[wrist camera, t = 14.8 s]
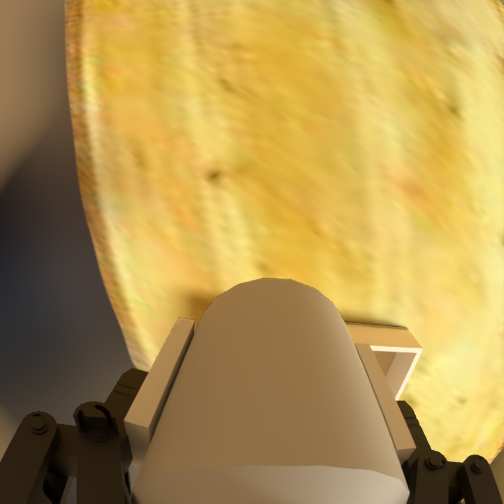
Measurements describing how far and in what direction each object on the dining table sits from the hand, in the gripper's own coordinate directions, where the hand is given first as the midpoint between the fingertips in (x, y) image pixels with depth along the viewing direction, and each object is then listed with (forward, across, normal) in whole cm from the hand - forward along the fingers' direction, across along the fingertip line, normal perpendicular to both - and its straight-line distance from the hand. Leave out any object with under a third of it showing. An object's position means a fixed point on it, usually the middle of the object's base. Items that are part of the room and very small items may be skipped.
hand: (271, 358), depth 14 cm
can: (+2, 0, 0) cm, 2 cm away
